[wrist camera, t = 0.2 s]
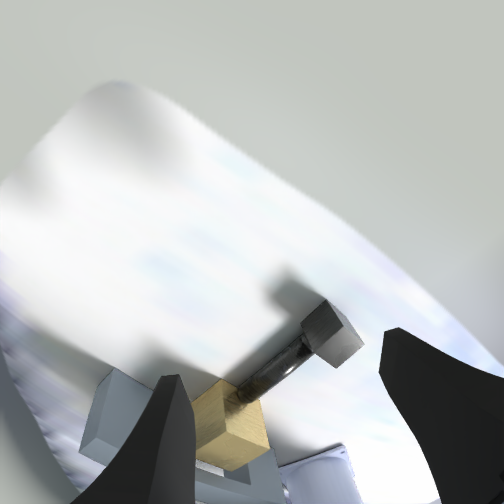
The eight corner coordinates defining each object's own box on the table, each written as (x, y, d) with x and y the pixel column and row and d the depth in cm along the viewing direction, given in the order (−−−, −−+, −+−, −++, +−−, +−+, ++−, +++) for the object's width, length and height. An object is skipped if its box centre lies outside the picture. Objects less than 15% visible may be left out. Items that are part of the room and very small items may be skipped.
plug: (319, 292, 21) (347, 337, 16) (352, 323, 22) (382, 367, 17) (188, 405, 23) (188, 455, 19) (226, 424, 25) (231, 471, 20)
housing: (115, 367, 21) (96, 437, 15) (273, 448, 27) (286, 504, 21) (97, 386, 22) (78, 452, 15) (252, 461, 27) (261, 515, 21)
